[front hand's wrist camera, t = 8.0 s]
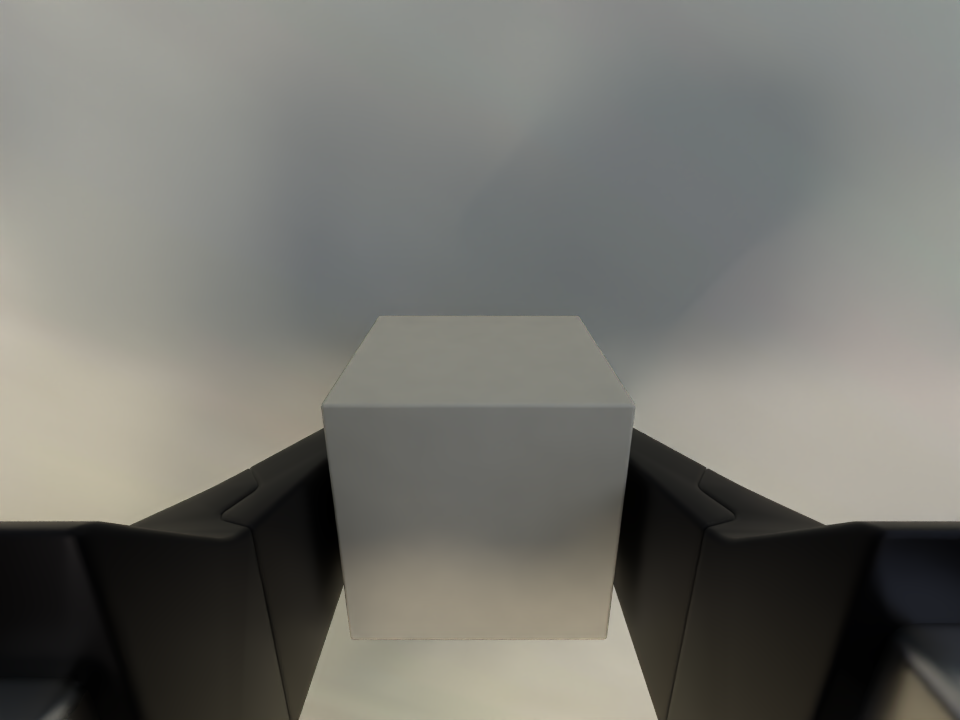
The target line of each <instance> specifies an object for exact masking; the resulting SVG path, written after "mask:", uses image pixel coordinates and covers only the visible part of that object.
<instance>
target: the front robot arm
mask: <svg viewBox="0 0 960 720" xmlns="http://www.w3.org/2000/svg"><path fill="white" fill-rule="evenodd" d="M613 584H614V587H615V590H616V593H617V596H618V599H619V602H620V605H621V608H622V611H623V615H624V618H625V621H626V624H627V627H628V630H629V633H630V636H631V639H632V642H633V645H634V648H635V651H636V654H637V657H638V660H639V663H640V666H641V669H642V672H643V675H644V678H645V681H646V684H647V687H648V691H649V694H650V697H651V700H652V703H653V706H654V709H655V712H656V715H657V718H658V720H960V521H855V522H847V523H840V524H833V525H824V524H822V523H820V522H817V521H815V520H813V519H811V518H809V517H807V516H804V515H802V514H800V513H798V512H796V511H793V510H791V509H789V508H787V507H785V506H783V505H780V504H778V503H776V502H774V501H772V500H770V499H767V498H765V497H763V496H761V495H759V494H757V493H755V492H753V491H751V490H748V489H746V488H744V487H742V486H740V485H738V484H736V483H735V482H733V481H731V480H729V479H727V478H725V477H723V476H721V475H719V474H717V473H716V472H714V471H712V470H710V469H706V467H704V466H703V465H701V464H699V463H697V462H695V461H693V460H692V459H690V458H688V457H686V456H684V455H682V454H681V453H679V452H677V451H675V450H673V449H671V448H669V447H668V446H666V445H664V444H662V443H660V442H658V441H657V440H655V439H653V438H651V437H649V436H647V435H646V434H644V433H642V432H640V431H638V430H636V429H635V428H633V430H632V438H631V446H630V454H629V462H628V470H627V478H626V487H625V495H624V503H623V511H622V519H621V527H620V535H619V543H618V551H617V559H616V567H615V575H614V583H613ZM343 585H344V582H343V574H342V566H341V559H340V551H339V543H338V535H337V527H336V519H335V511H334V503H333V495H332V488H331V480H330V472H329V464H328V456H327V448H326V440H325V432H324V428H323V429H321V430H319V431H317V432H315V433H314V434H312V435H310V436H308V437H306V438H304V439H302V440H301V441H299V442H297V443H295V444H293V445H291V446H289V447H288V448H286V449H284V450H282V451H280V452H278V453H276V454H275V455H273V456H271V457H269V458H267V459H265V460H264V461H262V462H260V463H258V464H256V465H254V466H252V467H251V468H250V469H247V470H245V471H243V472H241V473H239V474H237V475H236V476H234V477H232V478H230V479H228V480H226V481H224V482H222V483H220V484H218V485H216V486H214V487H212V488H210V489H208V490H206V491H204V492H202V493H199V494H197V495H195V496H193V497H191V498H189V499H187V500H185V501H182V502H180V503H178V504H176V505H174V506H171V507H169V508H167V509H165V510H163V511H160V512H158V513H156V514H154V515H152V516H149V517H147V518H145V519H143V520H141V521H139V522H136V523H134V524H132V525H130V526H128V525H121V524H114V523H107V522H99V521H0V720H299V717H300V714H301V711H302V708H303V705H304V702H305V699H306V696H307V693H308V690H309V687H310V684H311V681H312V678H313V675H314V672H315V669H316V666H317V663H318V660H319V657H320V654H321V651H322V648H323V645H324V642H325V639H326V636H327V633H328V630H329V627H330V624H331V621H332V618H333V615H334V612H335V609H336V606H337V603H338V600H339V597H340V594H341V591H342V588H343Z"/></svg>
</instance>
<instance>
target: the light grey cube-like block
mask: <svg viewBox="0 0 960 720" xmlns="http://www.w3.org/2000/svg"><path fill="white" fill-rule="evenodd" d="M321 409H322V416H323V424H324V432H325V440H326V448H327V456H328V464H329V472H330V480H331V488H332V495H333V503H334V511H335V519H336V527H337V535H338V543H339V551H340V559H341V566H342V574H343V582H344V590H345V598H346V606H347V614H348V622H349V630H350V637H351V639H353V640H604V639H606V638H607V631H608V623H609V615H610V607H611V599H612V591H613V583H614V575H615V567H616V559H617V551H618V543H619V535H620V527H621V519H622V511H623V503H624V495H625V487H626V478H627V470H628V462H629V454H630V446H631V438H632V430H633V422H634V414H635V404H634V402H633V400H632V399H631V397H630V396H629V394H628V393H627V391H626V390H625V388H624V386H623V385H622V383H621V382H620V380H619V379H618V377H617V375H616V374H615V372H614V371H613V369H612V368H611V366H610V364H609V363H608V361H607V360H606V358H605V357H604V355H603V353H602V352H601V350H600V349H599V347H598V346H597V344H596V342H595V341H594V339H593V338H592V336H591V335H590V333H589V331H588V330H587V328H586V327H585V325H584V324H583V322H582V320H581V319H580V317H579V316H379V317H378V318H377V320H376V321H375V323H374V325H373V326H372V328H371V329H370V331H369V332H368V334H367V335H366V337H365V338H364V340H363V341H362V343H361V345H360V346H359V348H358V349H357V351H356V352H355V354H354V355H353V357H352V358H351V360H350V362H349V363H348V365H347V366H346V368H345V369H344V371H343V372H342V374H341V375H340V377H339V378H338V380H337V382H336V383H335V385H334V386H333V388H332V389H331V391H330V392H329V394H328V395H327V397H326V399H325V400H324V402H323V403H322V406H321Z"/></svg>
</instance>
